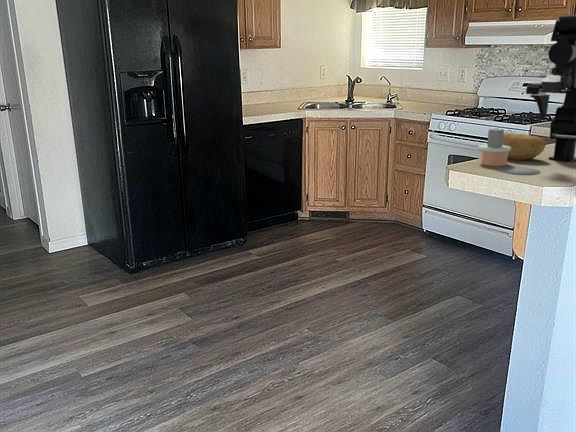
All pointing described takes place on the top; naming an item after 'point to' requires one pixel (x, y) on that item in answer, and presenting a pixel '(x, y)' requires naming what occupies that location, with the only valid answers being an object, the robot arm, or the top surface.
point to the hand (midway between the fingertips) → (559, 121)
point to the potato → (523, 146)
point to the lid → (495, 142)
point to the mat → (519, 171)
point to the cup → (493, 158)
